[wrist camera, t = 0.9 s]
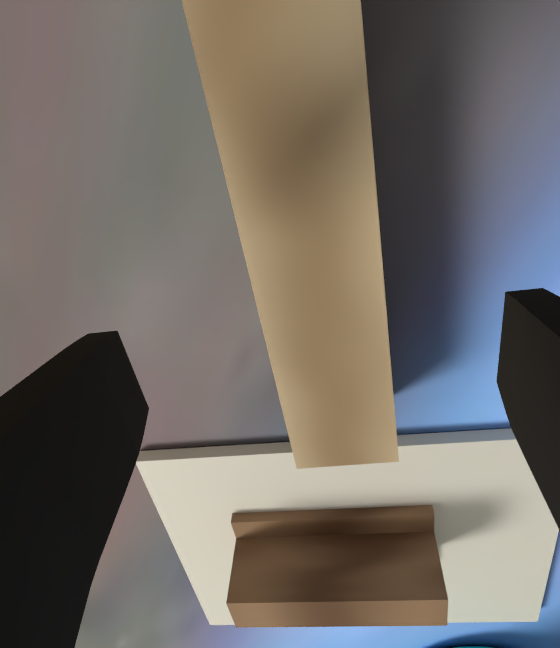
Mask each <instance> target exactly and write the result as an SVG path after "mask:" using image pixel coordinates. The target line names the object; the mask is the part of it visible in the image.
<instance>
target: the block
mask: <svg viewBox="0 0 560 648" xmlns="http://www.w3.org/2000/svg"><path fill="white" fill-rule="evenodd" d="M231 525H232V528H233V531H234V534H235V537H236V542H235V549H234V555H233V562H232V569H231V575H230V582H229V588H228V595H227V601H226V604H227V607H228V609H229V612H230V614H231V616H232V619H233V621H234V624H235V626H236V627H330V626H437V625H447V617H448V596H447V591H446V586H445V582H444V577H443V572H442V567H441V562H440V557H439V553H438V548H437V543H436V538H435V533H434V511H433V506H432V505H415V506H391V507H367V508H344V509H320V510H296V511H273V512H249V513H232V518H231Z"/></svg>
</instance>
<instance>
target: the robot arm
mask: <svg viewBox="0 0 560 648" xmlns="http://www.w3.org/2000/svg"><path fill="white" fill-rule="evenodd" d="M497 384H498V388H499V391H500V394H501V398H502V401H503V404H504V408H505V411H506V414H507V417H508V420H509V423H510V426H511V429H512V431H513V434H514V436H515V438H516V440H517V442H518V444H519V447H520V449H521V451H522V453H523V455H524V457H525V459H526V461H527V464H528V466H529V468H530V470H531V472H532V474H533V476H534V478H535V480H536V483H537V485H538V487H539V489H540V491H541V493H542V495H543V497H544V499H545V501H546V503H547V506H548V508H549V510H550V512H551V514H552V516H553V518H554V520H555V522H556V524H557V526H558V529H559V531H560V297H559V296H557V295H555V294H553V293H551V292H549V291H547V290H545V289H543V288H539V289H529V290H519V291H509V292H505V302H504V312H503V322H502V333H501V343H500V353H499V363H498V373H497ZM148 410H149V408H148V405H147V403H146V400H145V398H144V395H143V393H142V390H141V388H140V385H139V383H138V380H137V378H136V375H135V373H134V370H133V368H132V366H131V363H130V361H129V358H128V356H127V353H126V351H125V348H124V346H123V343H122V341H121V338H120V336H119V333H118V331H110V332H100V333H90V334H87V335H85V336H84V337H82V338H80V339H79V340H77V341H76V342H74V343H73V344H71V345H70V346H68V347H67V348H65V349H64V350H63V351H61V352H60V353H58V354H57V355H56V356H54V357H53V358H52V359H50V360H49V361H48V362H46V363H45V364H44V365H42V366H41V367H40V368H38V369H37V370H36V371H34V372H33V373H32V374H30V375H29V376H28V377H26V378H25V379H24V380H22V381H21V382H20V383H18V384H17V385H16V386H14V387H13V388H12V389H10V390H9V391H8V392H6V393H5V394H4V395H2V396H1V397H0V648H74V647H75V643H76V639H77V636H78V632H79V628H80V624H81V621H82V617H83V613H84V609H85V606H86V602H87V598H88V594H89V591H90V587H91V584H92V581H93V578H94V575H95V572H96V569H97V566H98V563H99V560H100V557H101V555H102V552H103V549H104V547H105V544H106V541H107V539H108V536H109V533H110V531H111V528H112V525H113V523H114V520H115V518H116V515H117V512H118V510H119V507H120V504H121V502H122V499H123V496H124V494H125V491H126V488H127V486H128V483H129V480H130V478H131V475H132V472H133V469H134V467H135V464H136V461H137V458H138V455H139V452H140V448H141V443H142V439H143V435H144V430H145V425H146V420H147V415H148Z"/></svg>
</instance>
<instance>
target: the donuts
mask: <svg viewBox="0 0 560 648" xmlns="http://www.w3.org/2000/svg"><path fill="white" fill-rule="evenodd" d="M454 648H493V647H481V646H464V647H454Z"/></svg>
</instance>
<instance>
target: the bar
mask: <svg viewBox="0 0 560 648" xmlns="http://www.w3.org/2000/svg"><path fill="white" fill-rule="evenodd" d="M182 3H183V7H184V11H185V15H186V20H187V24H188V28H189V32H190V36H191V40H192V44H193V48H194V52H195V56H196V60H197V64H198V68H199V72H200V77H201V81H202V85H203V89H204V93H205V97H206V101H207V105H208V109H209V113H210V117H211V121H212V125H213V130H214V134H215V138H216V142H217V146H218V150H219V154H220V158H221V162H222V166H223V170H224V174H225V178H226V182H227V187H228V191H229V195H230V199H231V203H232V207H233V211H234V215H235V219H236V223H237V227H238V231H239V235H240V239H241V244H242V248H243V252H244V256H245V260H246V264H247V268H248V272H249V276H250V280H251V284H252V288H253V292H254V297H255V301H256V305H257V309H258V313H259V317H260V321H261V325H262V329H263V333H264V337H265V341H266V345H267V349H268V354H269V358H270V362H271V366H272V370H273V374H274V378H275V382H276V386H277V390H278V394H279V398H280V402H281V407H282V411H283V415H284V419H285V423H286V427H287V431H288V435H289V439H290V443H291V447H292V451H293V455H294V459H295V464H296V468H297V469H302V468H316V467H330V466H345V465H359V464H373V463H387V462H399V456H398V444H397V432H396V420H395V408H394V396H393V384H392V372H391V360H390V348H389V336H388V323H387V311H386V299H385V287H384V275H383V263H382V251H381V239H380V227H379V215H378V203H377V191H376V179H375V167H374V155H373V143H372V130H371V118H370V106H369V94H368V82H367V70H366V58H365V46H364V34H363V22H362V10H361V0H182Z"/></svg>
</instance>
